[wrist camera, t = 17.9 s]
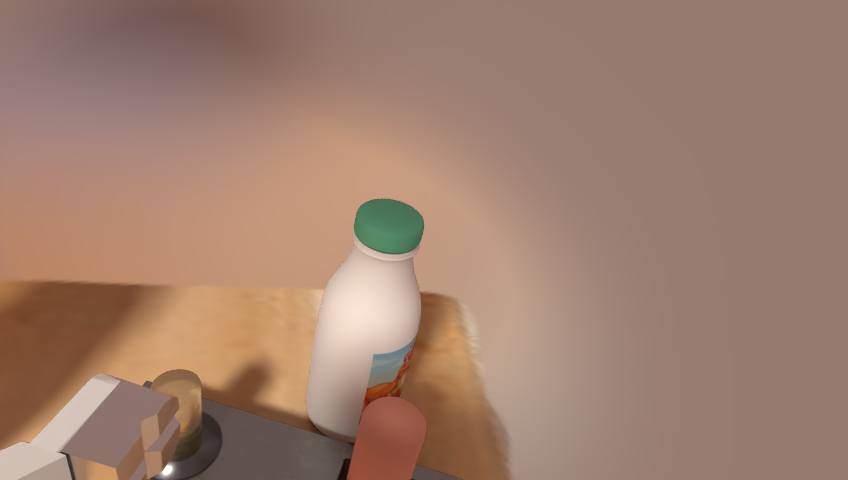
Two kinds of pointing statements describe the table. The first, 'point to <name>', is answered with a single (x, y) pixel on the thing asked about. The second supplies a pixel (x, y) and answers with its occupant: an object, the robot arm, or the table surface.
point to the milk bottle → (366, 320)
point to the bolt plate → (249, 443)
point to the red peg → (388, 440)
